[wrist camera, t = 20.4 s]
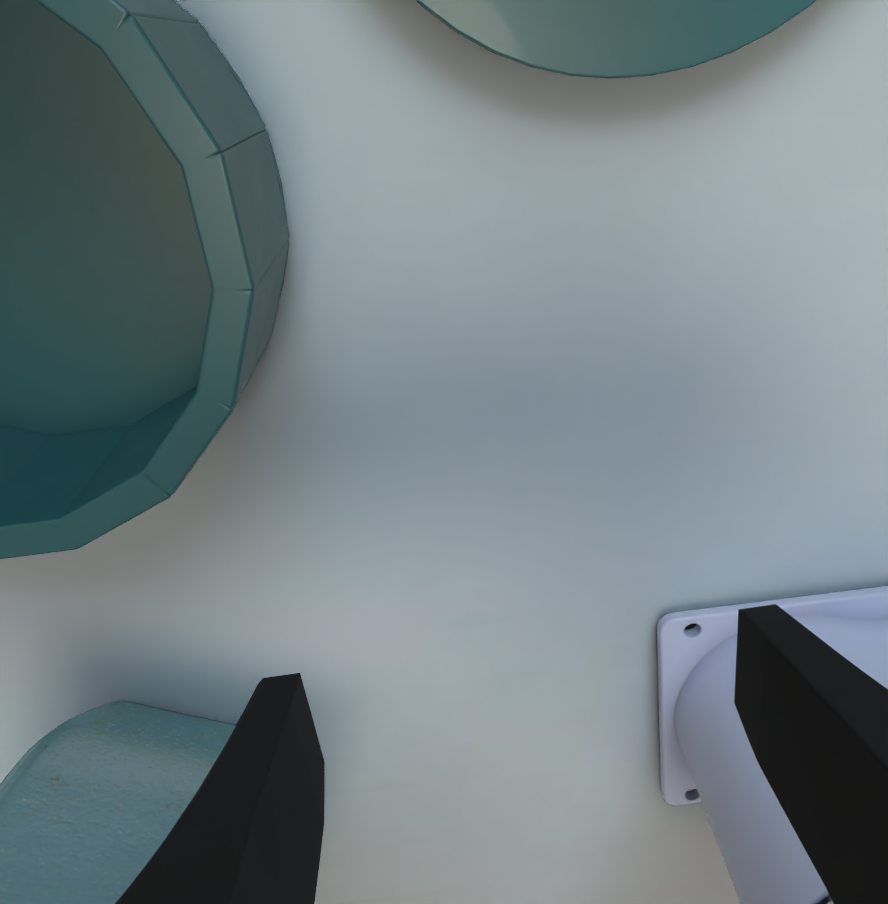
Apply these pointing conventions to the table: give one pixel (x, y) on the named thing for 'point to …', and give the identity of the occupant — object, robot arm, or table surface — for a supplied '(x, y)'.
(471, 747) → the table surface
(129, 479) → the tin
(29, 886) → the flower pot
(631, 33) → the tin lid
